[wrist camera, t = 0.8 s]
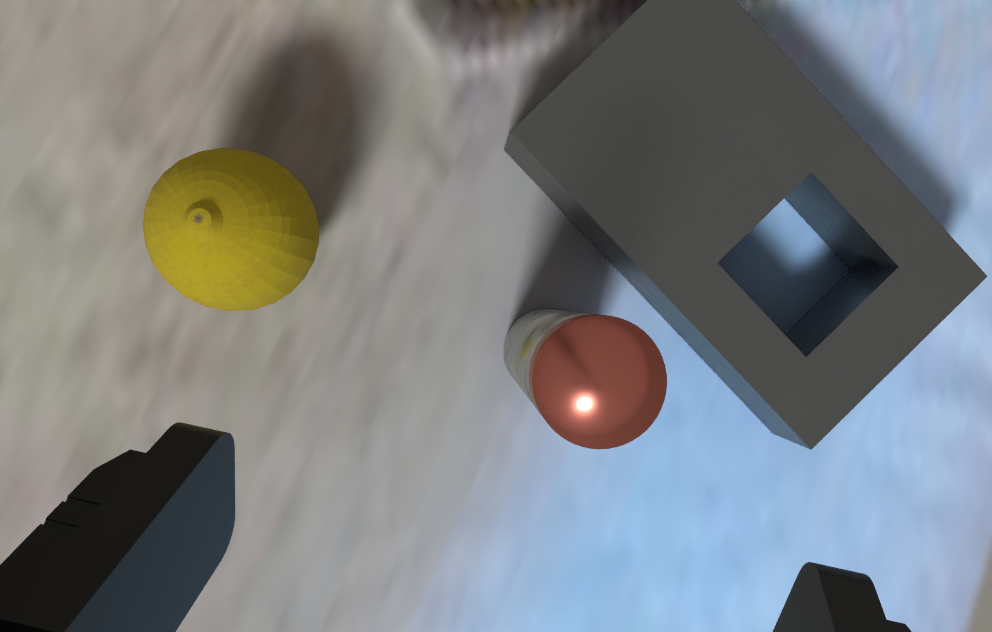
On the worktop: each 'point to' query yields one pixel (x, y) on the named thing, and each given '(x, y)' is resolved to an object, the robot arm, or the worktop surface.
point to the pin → (587, 375)
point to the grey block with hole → (741, 206)
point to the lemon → (231, 229)
